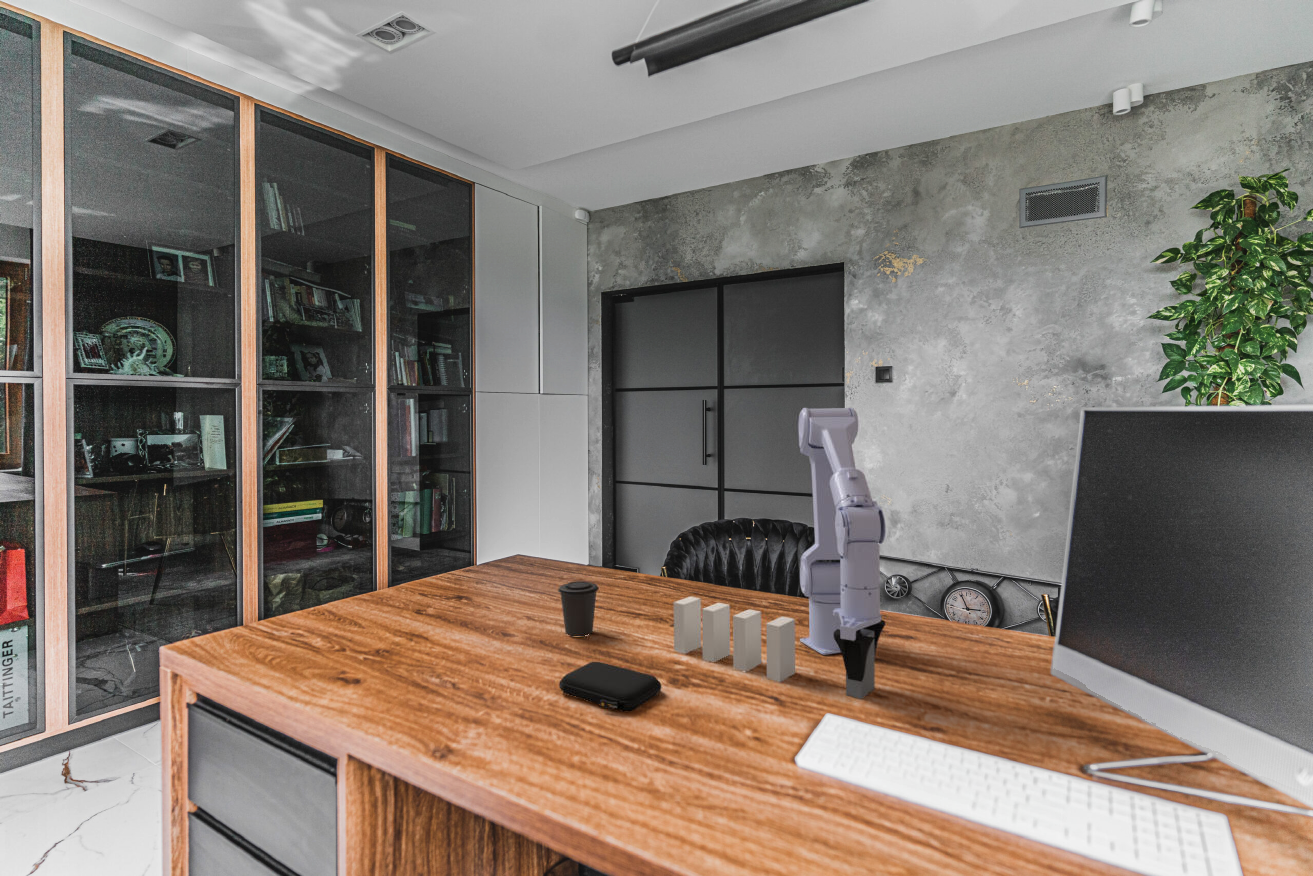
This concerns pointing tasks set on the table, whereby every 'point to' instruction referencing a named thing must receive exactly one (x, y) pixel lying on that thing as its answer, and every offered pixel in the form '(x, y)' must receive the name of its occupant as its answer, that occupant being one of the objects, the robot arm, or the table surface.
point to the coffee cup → (578, 607)
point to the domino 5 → (868, 682)
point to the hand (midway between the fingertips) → (860, 672)
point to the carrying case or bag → (610, 686)
